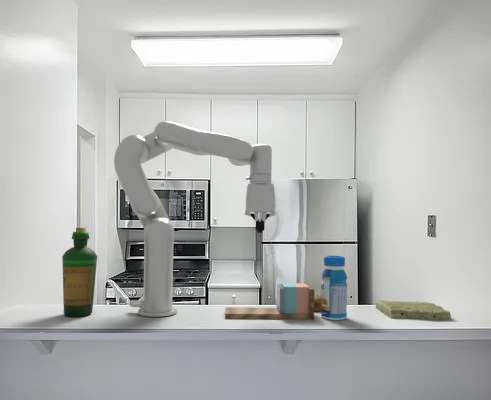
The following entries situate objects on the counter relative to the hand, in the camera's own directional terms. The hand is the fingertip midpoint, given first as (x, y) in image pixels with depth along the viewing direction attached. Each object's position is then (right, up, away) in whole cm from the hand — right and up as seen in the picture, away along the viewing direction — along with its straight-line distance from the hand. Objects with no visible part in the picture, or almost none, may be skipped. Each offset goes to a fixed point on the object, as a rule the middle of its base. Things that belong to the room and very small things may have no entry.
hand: (259, 232), depth 151 cm
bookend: (+7, -25, -7) cm, 27 cm away
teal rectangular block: (+9, -26, -7) cm, 28 cm away
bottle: (-59, -26, -11) cm, 65 cm away
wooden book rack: (+3, -27, -7) cm, 28 cm away
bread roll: (+19, -28, +5) cm, 34 cm away
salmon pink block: (+13, -26, -6) cm, 30 cm away
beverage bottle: (+24, -27, -9) cm, 37 cm away
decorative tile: (+53, -29, -1) cm, 60 cm away
